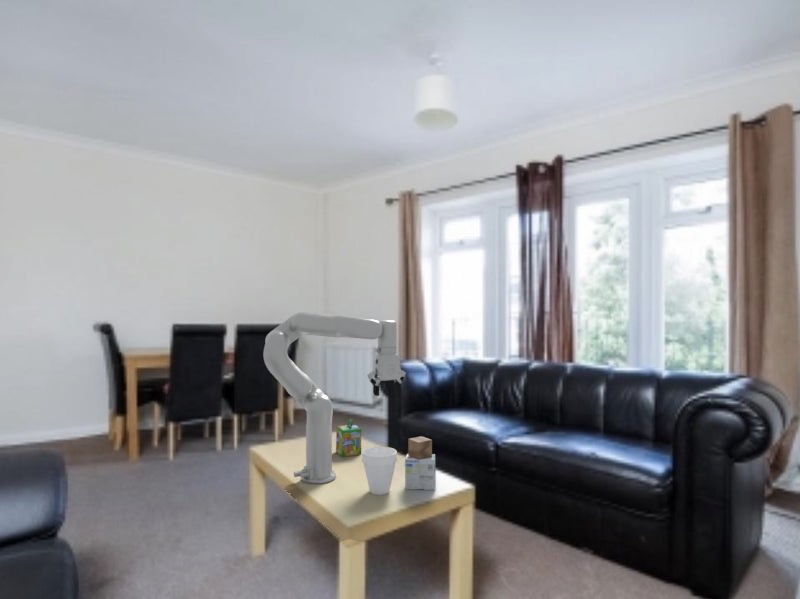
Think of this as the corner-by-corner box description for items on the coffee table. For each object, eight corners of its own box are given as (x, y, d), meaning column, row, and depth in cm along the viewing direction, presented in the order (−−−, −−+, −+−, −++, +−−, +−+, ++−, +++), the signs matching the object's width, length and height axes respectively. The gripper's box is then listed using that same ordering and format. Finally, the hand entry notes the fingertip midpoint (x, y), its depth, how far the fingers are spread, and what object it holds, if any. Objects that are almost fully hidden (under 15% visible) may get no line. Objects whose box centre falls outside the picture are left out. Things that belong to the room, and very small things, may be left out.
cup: (378, 482, 170) (378, 444, 171) (404, 490, 163) (404, 450, 163) (354, 492, 161) (354, 452, 161) (381, 500, 153) (380, 459, 154)
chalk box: (335, 452, 209) (335, 418, 210) (355, 449, 213) (354, 416, 214) (342, 457, 201) (341, 423, 201) (362, 454, 205) (361, 420, 205)
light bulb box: (436, 483, 169) (435, 453, 169) (435, 490, 162) (435, 459, 162) (406, 482, 170) (406, 453, 170) (404, 489, 163) (404, 458, 163)
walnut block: (418, 459, 162) (418, 442, 162) (408, 455, 167) (408, 438, 167) (432, 456, 165) (431, 439, 166) (421, 452, 170) (421, 436, 171)
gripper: (373, 352, 178) (372, 397, 177) (410, 351, 187) (410, 393, 187) (363, 351, 184) (363, 394, 183) (400, 350, 194) (399, 391, 193)
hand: (386, 394), depth 185 cm, fingers open, 9 cm apart
